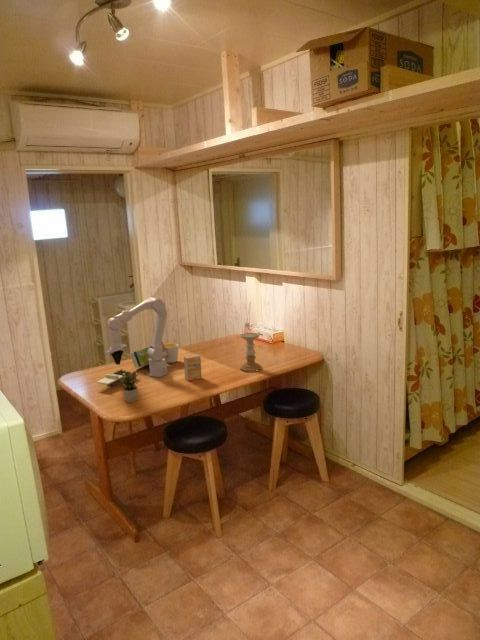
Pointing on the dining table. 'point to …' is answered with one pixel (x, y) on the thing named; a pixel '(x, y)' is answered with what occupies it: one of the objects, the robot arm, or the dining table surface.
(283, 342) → the dining table surface
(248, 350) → the candle holder
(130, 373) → the walnut box
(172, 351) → the mug
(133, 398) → the house plant
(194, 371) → the supplement box
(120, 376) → the cover plate
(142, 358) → the tea box
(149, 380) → the dining table surface
